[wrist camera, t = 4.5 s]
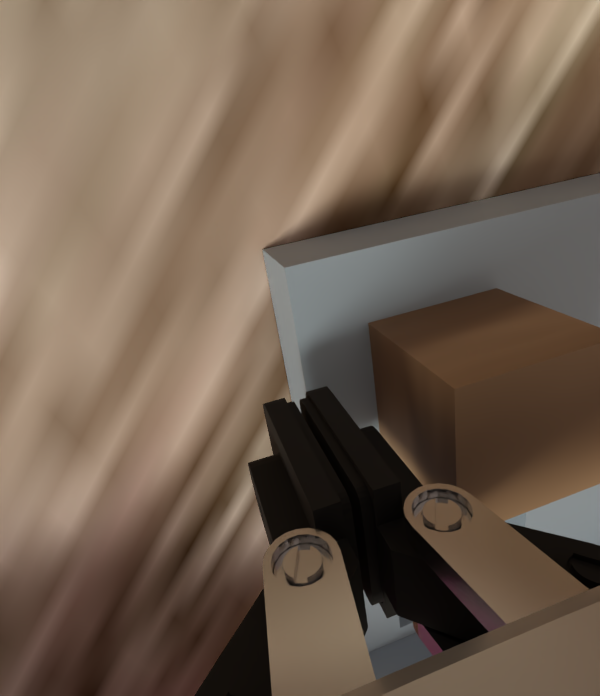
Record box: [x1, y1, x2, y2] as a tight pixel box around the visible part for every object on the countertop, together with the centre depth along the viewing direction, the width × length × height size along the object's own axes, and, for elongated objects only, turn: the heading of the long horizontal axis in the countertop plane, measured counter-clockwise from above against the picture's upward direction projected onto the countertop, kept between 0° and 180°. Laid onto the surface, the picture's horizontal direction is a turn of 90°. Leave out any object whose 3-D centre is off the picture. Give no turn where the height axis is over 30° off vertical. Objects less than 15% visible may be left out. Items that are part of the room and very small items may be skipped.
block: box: [368, 288, 600, 521], centre depth 12 cm, size 4×4×4 cm
